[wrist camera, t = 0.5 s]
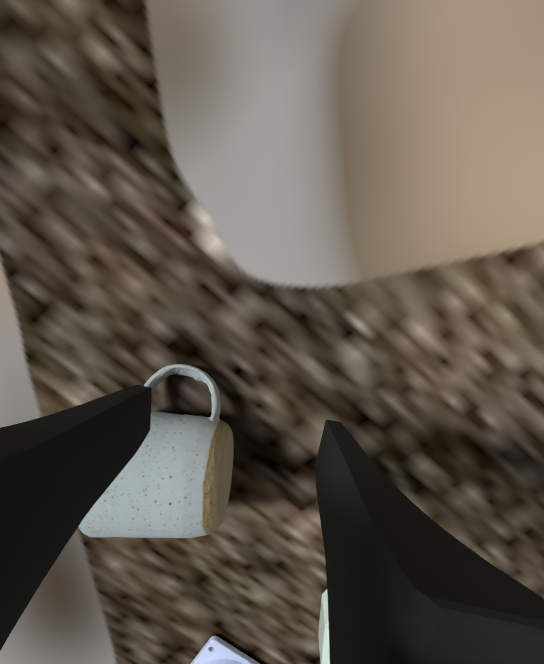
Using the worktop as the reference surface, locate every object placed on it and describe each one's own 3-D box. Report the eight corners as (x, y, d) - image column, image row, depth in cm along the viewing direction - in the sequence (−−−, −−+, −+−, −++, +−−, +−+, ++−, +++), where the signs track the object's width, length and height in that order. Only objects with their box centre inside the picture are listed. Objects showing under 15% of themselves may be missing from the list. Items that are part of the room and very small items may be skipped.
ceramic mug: (238, 487, 23) (211, 581, 15) (143, 481, 23) (70, 568, 16) (238, 362, 22) (210, 395, 14) (138, 359, 22) (58, 389, 15)
